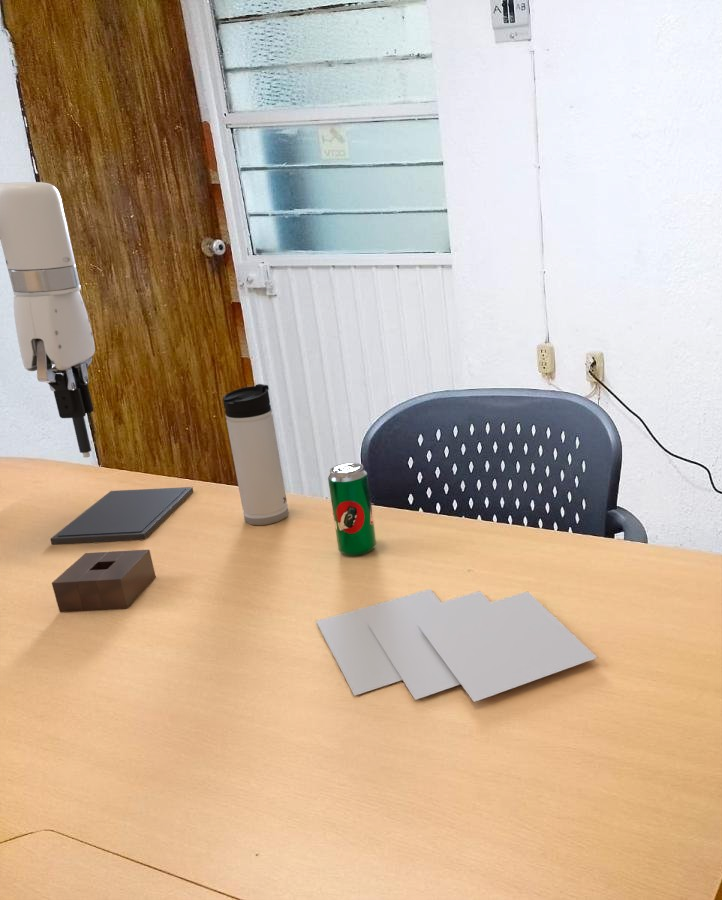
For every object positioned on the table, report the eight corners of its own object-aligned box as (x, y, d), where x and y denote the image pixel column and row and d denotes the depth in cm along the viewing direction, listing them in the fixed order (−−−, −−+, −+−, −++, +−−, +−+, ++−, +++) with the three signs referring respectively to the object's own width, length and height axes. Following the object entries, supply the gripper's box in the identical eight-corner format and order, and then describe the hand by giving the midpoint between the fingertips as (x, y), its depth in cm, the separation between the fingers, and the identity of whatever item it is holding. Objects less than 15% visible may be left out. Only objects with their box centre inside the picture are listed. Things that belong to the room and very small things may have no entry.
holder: (59, 612, 100) (51, 582, 99) (92, 580, 108) (85, 552, 106) (127, 608, 101) (120, 579, 99) (155, 576, 108) (149, 549, 107)
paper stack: (378, 742, 76) (377, 736, 76) (315, 621, 96) (315, 616, 96) (597, 663, 87) (597, 657, 87) (499, 569, 107) (499, 564, 107)
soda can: (383, 548, 114) (373, 467, 110) (350, 561, 111) (338, 478, 107) (365, 537, 118) (354, 458, 114) (332, 549, 114) (320, 468, 110)
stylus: (79, 458, 116) (60, 375, 112) (84, 455, 117) (65, 372, 113) (89, 458, 116) (71, 375, 112) (94, 454, 118) (76, 372, 114)
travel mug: (299, 512, 127) (279, 386, 120) (263, 529, 121) (240, 397, 115) (272, 505, 130) (251, 381, 123) (235, 520, 124) (211, 392, 118)
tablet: (51, 544, 118) (49, 538, 118) (111, 495, 135) (110, 490, 135) (145, 539, 119) (143, 533, 119) (193, 491, 136) (192, 486, 136)
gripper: (48, 273, 116) (77, 400, 122) (-22, 291, 101) (16, 433, 107) (104, 272, 116) (130, 398, 122) (42, 289, 102) (76, 431, 108)
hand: (77, 414), depth 115 cm, fingers closed on stylus, 1 cm apart
